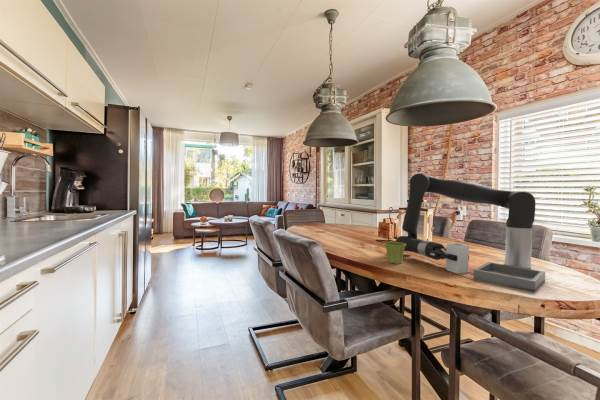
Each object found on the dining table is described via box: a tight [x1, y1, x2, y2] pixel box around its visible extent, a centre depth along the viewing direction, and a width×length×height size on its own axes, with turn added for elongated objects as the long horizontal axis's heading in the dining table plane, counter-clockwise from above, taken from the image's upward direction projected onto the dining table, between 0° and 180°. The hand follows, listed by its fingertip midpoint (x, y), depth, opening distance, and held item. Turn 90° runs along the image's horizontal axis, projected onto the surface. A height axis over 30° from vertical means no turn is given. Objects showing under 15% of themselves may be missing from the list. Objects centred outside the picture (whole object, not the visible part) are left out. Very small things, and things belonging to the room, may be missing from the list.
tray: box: [473, 261, 546, 293], centre depth 106 cm, size 18×18×4 cm
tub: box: [445, 242, 470, 274], centre depth 116 cm, size 6×6×11 cm
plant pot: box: [383, 241, 406, 265], centre depth 130 cm, size 9×9×9 cm
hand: (462, 258), depth 114 cm, fingers closed on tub, 5 cm apart
